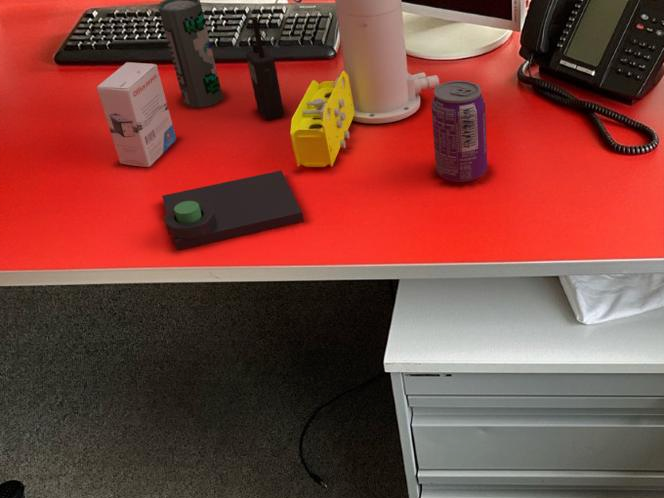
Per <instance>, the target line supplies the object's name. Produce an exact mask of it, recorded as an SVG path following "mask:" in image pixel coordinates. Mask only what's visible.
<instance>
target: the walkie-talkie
mask: <svg viewBox="0 0 664 498" xmlns="http://www.w3.org/2000/svg"><path fill="white" fill-rule="evenodd" d="M251 23H252V27H253V32H254V38H255V43H252V44H251V47H252V50H249V51H247V53H246V54H245V57H246V60H247V62H246V63H247V66H248V70H249V76H250V79H251V85H252V89H253V94H254V99H255V104H256V108H257V112H258V113H259V114H260V115H261V116H262V117H263V119H265V121H273V120H275V119H280V118H284V116H285V110H284V109H285V108H284V103H283V99H282V93H281V88H280V84H279V78H278V71H277V66H276V62H275V57H274V56H273V55H272V54H270V52H269V51H268V50H267V49H265V48H264V45H263V40H262V35H261V30H260V26H259V19H258V18H257V17H256V16H255V17H252V18H251Z"/></svg>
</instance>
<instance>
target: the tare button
mask: <svg viewBox="0 0 664 498" xmlns="http://www.w3.org/2000/svg"><path fill="white" fill-rule="evenodd" d="M174 211H175V215H176V218H177V221H178V222H179V223H191V222H195V221H197V220H199V219H201V218H202V214H201V210H200V207H199V204H198V203H197V202H194V201H185V202H181V203H179V204H177V205H176V206H175V208H174Z"/></svg>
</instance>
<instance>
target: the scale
mask: <svg viewBox="0 0 664 498" xmlns="http://www.w3.org/2000/svg"><path fill="white" fill-rule="evenodd" d="M161 198H162V200H163V204H164V208H165V212H166V214H165V216H164V217H163V219H164V225H165V228H166V230H167V233H168V235H169V236H170V237H173V241H174V244H175V247H176V251H181V250H184V249H189V248H193V247H197V246H202V245H207V244H210V243H215V242H220V241H223V240H229V239H233V238H237V237H240V236H241V237H242V236H245V235H246V236H247V235H249V234H254V233H259V232H263V231H266V230H272V229H275V228H280V227H285V226H289V225H293V224H297V223H301V222H304V221H305V219H304V214H303V211H302V209H301V207H300V204H299V202H298V201H297V198H296V196H295V194H294V192H293V190H292V189H291V186H290V184H289V182H288V180H287V178H286V177H285V174H284V172H283V170H281V169H280V170H275V171H271V172H267V173H261V174H257V175H253V176H248V177H247V176H246V177H243V178H238V179H234V180H229V181H225V182H220V183H215V184H211V185H206V186H201V187H196V188H192V189H188V190H182V191H177V192H172V193H168V194H167V193H166V194H162V195H161ZM185 201H194V202H197V203H198V204H199V207H200V210H201V214H202V218H201V219H199V220H197V221H195V222H191V223H179V222H178V221H177V218H176V215H175V211H174V208H175V206H176V205H177V204H179V203H181V202H185Z"/></svg>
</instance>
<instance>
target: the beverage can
mask: <svg viewBox="0 0 664 498" xmlns="http://www.w3.org/2000/svg"><path fill="white" fill-rule="evenodd" d="M433 95H434V96H433V98H432V101H431V106H430V107H431V108H430V109H431V120H432V134H433V148H434V160H435V172H436V174H437V175H438V176H439V177H441V178H442V179H445V180H448V181H451V182H456V183H465V182H466V183H467V182H471V181H473V180H476V179H478V178H481V177H482V176H484V175H485V174H486V173H487V171H488V145H487V143H488V142H487V141H488V140H487V111H486V101H485V99H484V96H483V95H482V88H481V86H480V85H479V84H477V83H475V82H473V81H468V80H450V81H445V82H442V83H439V85H438V86H437V87H436V88H434V89H433Z"/></svg>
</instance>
